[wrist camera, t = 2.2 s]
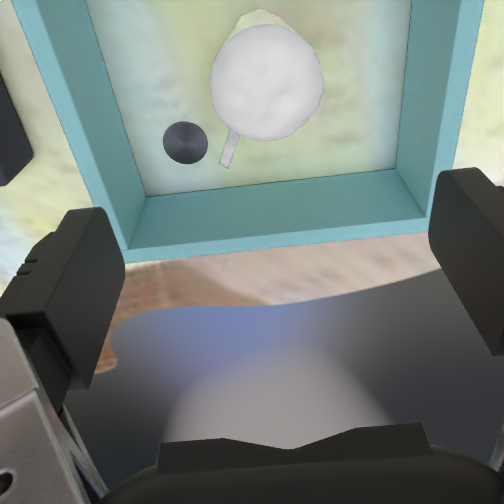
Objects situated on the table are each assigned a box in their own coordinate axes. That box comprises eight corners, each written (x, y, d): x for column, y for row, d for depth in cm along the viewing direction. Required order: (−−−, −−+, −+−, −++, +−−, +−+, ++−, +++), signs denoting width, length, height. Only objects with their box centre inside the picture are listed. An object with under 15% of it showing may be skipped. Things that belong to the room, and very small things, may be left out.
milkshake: (194, 65, 24) (173, 135, 16) (249, -26, 22) (254, 5, 14) (259, 111, 26) (267, 194, 18) (317, 31, 23) (356, 88, 15)
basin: (13, -158, 19) (-65, -185, 14) (459, -230, 18) (540, -285, 13) (136, 210, 30) (117, 264, 25) (408, 179, 29) (441, 230, 24)
